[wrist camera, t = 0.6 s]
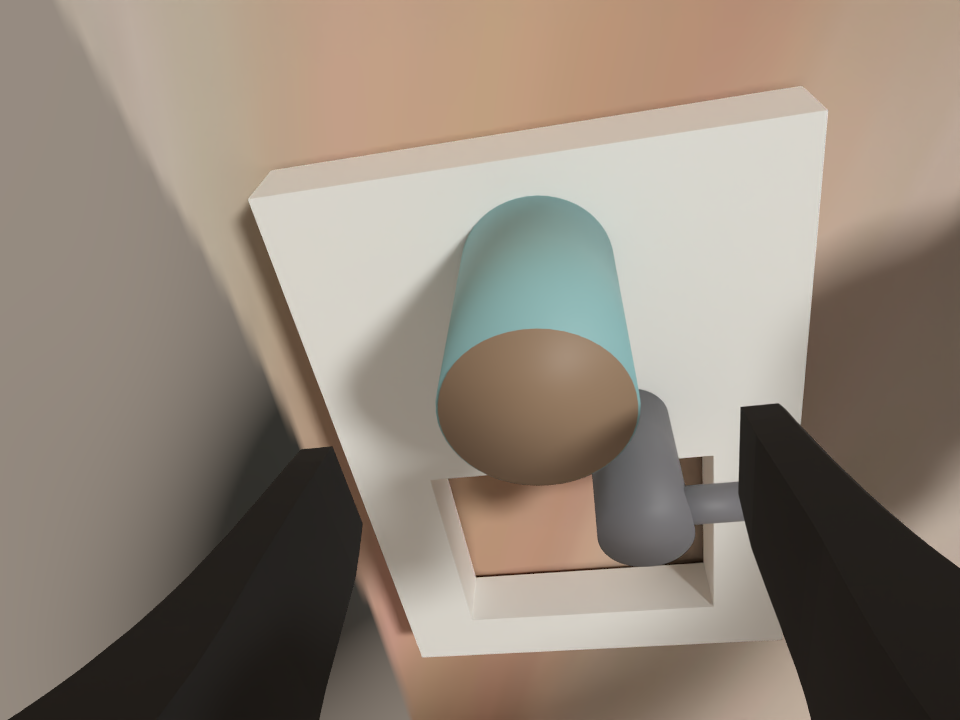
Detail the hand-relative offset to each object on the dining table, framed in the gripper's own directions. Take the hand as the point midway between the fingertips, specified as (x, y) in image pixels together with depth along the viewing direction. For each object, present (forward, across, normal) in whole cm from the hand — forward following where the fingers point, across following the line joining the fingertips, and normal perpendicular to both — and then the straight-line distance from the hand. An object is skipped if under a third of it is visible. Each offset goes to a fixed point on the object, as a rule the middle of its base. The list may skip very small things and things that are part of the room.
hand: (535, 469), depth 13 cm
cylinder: (+8, 0, 0) cm, 8 cm away
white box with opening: (+10, 0, +7) cm, 12 cm away
